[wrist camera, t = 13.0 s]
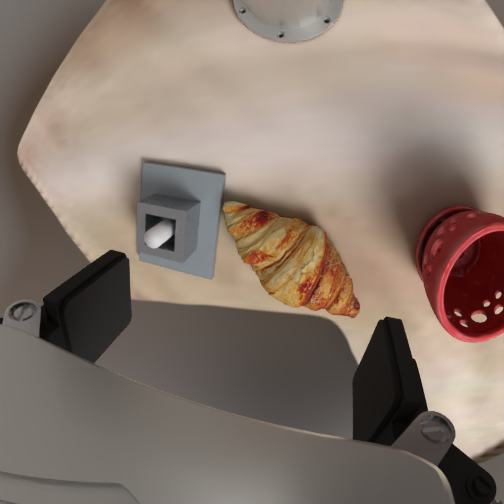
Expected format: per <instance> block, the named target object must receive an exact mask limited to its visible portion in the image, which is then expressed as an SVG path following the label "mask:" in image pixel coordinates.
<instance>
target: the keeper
mask: <svg viewBox="0 0 504 504" xmlns="http://www.w3.org/2000/svg"><path fill="white" fill-rule="evenodd" d="M225 178H226V174H223V173H217V172H211V171H205V170H199V169H193V168H187V167H180V166H174V165H167V164H160V163H153V162H144V163H143V166H142V182H141V200H143V199H145V198H147V197H149V196H151V195H153V194H161V195H167V196H173V197H178V198H184V199H189V200H195V201H200V202H201V207H200V218H199V229H198V241H197V250H196V251H195V252H194V253H193V254H192V255H191V256H190V257H189V258H188V259H187V260H186V261H185V262H184V263H180V262H176V261H172V260H168V259H164V258H160V257H156V256H152V255H148V254H144V253H140V252H139V261H143V262H147V263H150V264H154V265H158V266H161V267H165V268H169V269H172V270H176V271H180V272H184V273H188V274H191V275H195V276H199V277H203V278H207V279H212V278H213V276H214V268H215V259H216V250H217V242H218V233H219V225H220V217H221V209H222V201H223V193H224V186H225ZM175 230H176V220H175V219H170V218H165V217H162V221H161V222H160V223H158V224H157V225H155V226H154V227H152V228H151V229H149V230H148V231H146V233H145V235H144V240H145V243H146V244H147V245H148V246H149V247H151V248H158V247H159V246H160V245H161V244H163V243H164V242H165V241H166V240H168V239H169V238H170V237H171V236H173V235H174V236H175Z"/></svg>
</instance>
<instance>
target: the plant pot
mask: <svg viewBox="0 0 504 504" xmlns="http://www.w3.org/2000/svg"><path fill="white" fill-rule="evenodd" d="M416 266H417V270H418V273H419V276H420V278H421V280H422V281H423V283H424V287H425V291H426V294H427V297H428V300H429V302H430V305H431V307H432V309H433V311H434V313H435V315H436V317H437V319H438V321H439V322H440V324H441V325H442V326H443V328H444V329H445V330H446V331H447V332H448V333H449V334H450V335H452V336H453V337H455V338H457V339H459V340H461V341H465V342H473V343H474V342H482V341H487V340H490V339H492V338H495V337H497V336H499V335H500V334H502V333H504V217H502V216H499V215H496V214H492V213H486V212H483V211H478V210H476V209H474V208H471V207H467V206H453V207H450V208H447V209H444V210H442V211H441V212H439V213H438V214H436V215H435V216H434V217H433V218H432V219H431V220H430V221H429V222H428V223H427V224H426V226H425V227H424V229H423V231H422V232H421V235H420V237H419V240H418V243H417V247H416ZM499 292H501V293H502V295H501V297H500V298H498V299H496V295H497V294H498V293H499ZM486 302H490V305H489V306H487V307H484V303H486ZM499 307H503V311H502V312H500V313H499V314H495V311H496V309H498V308H499ZM454 312H458V313H460V314H461V315H462V317H461V316H457V315H456V314H455V313H454ZM474 314H484V315H485V316H486V317H487V320H486V321H485V322H482V323H479V322H475V321H474V320H472V319H471V316H472V315H474ZM460 323H463V324H466V325H467V326H468V327H464V326H462V325H461V324H460Z"/></svg>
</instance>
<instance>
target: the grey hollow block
mask: <svg viewBox="0 0 504 504" xmlns="http://www.w3.org/2000/svg"><path fill="white" fill-rule="evenodd" d="M200 207H201V202H200V201H195V200H189V199H184V198H178V197H173V196H167V195H161V194H153V195H151V196H149V197H147V198H145V199H143V200H141V201H138V202H137V252H140V253H144V254H148V255H152V256H156V257H160V258H164V259H168V260H172V261H176V262H180V263H184V262H185V261H186V260H187V259H188V258H189V257H190V256H191V255H192V254H193V253H194V252H195V251H196V250H197V241H198V229H199V218H200ZM162 217H165V218H170V219H175V220H176V230H175V236H174V235H173V236H171V237H170V238H169V239H168V240H166V241H165V242H164V243H163V244H161V245H160V246H159V247H158V248H151V247H149V246H148V245H147V244H146V243H145V240H144V235H145V233H146V231H148V230H149V229H151V228H152V227H154V226H155V225H157V224H158V223H160V222H161V221H162Z"/></svg>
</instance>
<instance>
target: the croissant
mask: <svg viewBox="0 0 504 504" xmlns="http://www.w3.org/2000/svg"><path fill="white" fill-rule="evenodd" d="M223 211H224V213H225V219H226V222H225V224H226V226H227V227H228V232H230V233H231V234H233V238H234V239H235V241H236V247H237V249H238V254H239V255H240V256H241V259H242V260H243V261H244V263H246V264H251V266H252V269H253V270H254V271H255V272H256V274H257V276H258V277H259V279H260V282H261V285H262V286H263V288H264V289H265V290H266V291H267V292H269V295H271V296H272V297H274V298H275V299H277V300H279V301H280V302H282V303H284V304H285V305H288V306H291V307H300V306H304V307H307V308H309V309H311V310H314V311H317V310H320V309H323V308H324V309H326V311H327V312H329V313H330V314H333V315H343V316H349V317H351V318H354V317H356V316H357V314H358V313H359V309H360V304H359V302H358V300H357V298H356V297H355V296H354V294H353V284H352V279H351V278H350V275H349V274H348V272H347V271H346V269H345V265H344V264H343V263H342V261H341V259H340V255H339V253H338V252H337V251H336V249H335V248H334V247H333V245H332V244H331V243H330V242H329V240H328V239H327V235H326V233H325V231H324V230H323V229H321V228H320V227H319V226H310V225H309V224H308V223H307V222H304V221H302V220H300V219H298V218H294V219H290V218H284V217H279V216H278V215H277V214H276V213H272V212H270V211H268V210H261V209H255V208H251V207H250V206H249V205H247V204H243V203H239V202H236V201H229V202H226V203H224V205H223Z"/></svg>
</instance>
